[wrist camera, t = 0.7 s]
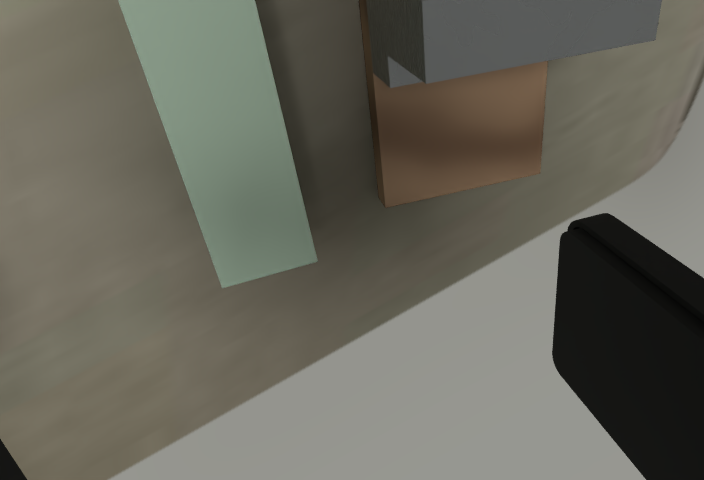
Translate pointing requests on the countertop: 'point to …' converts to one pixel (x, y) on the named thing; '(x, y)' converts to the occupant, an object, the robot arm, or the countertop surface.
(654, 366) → the robot arm
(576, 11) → the stand
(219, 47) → the beam
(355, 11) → the countertop surface
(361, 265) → the countertop surface
